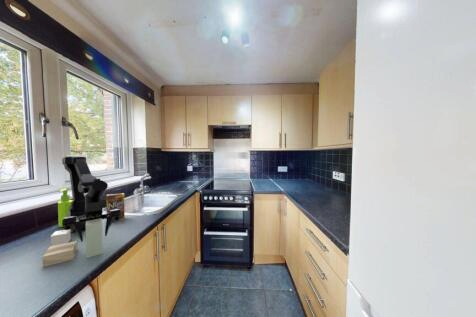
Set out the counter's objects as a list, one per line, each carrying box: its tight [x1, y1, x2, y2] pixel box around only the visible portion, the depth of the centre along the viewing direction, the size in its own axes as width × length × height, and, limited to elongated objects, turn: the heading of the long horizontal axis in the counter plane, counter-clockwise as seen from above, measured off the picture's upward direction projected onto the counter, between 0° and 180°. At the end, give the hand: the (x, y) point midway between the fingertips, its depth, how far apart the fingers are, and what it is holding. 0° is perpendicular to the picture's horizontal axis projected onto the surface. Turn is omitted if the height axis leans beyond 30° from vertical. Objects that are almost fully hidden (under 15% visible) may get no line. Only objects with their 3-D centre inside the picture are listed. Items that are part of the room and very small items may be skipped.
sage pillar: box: [85, 218, 104, 259], centre depth 72 cm, size 5×5×13 cm
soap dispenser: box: [57, 188, 73, 228], centre depth 98 cm, size 6×7×20 cm
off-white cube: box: [50, 229, 72, 246], centre depth 79 cm, size 5×5×5 cm
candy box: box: [105, 192, 126, 220], centre depth 107 cm, size 9×4×15 cm, turn 123°
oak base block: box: [42, 240, 78, 267], centre depth 69 cm, size 8×8×4 cm
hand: (94, 238), depth 71 cm, fingers open, 7 cm apart
